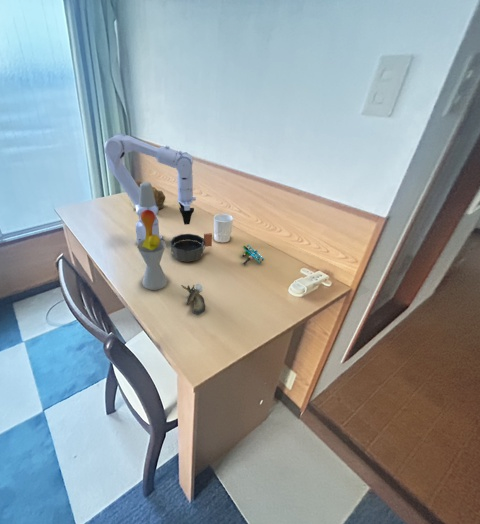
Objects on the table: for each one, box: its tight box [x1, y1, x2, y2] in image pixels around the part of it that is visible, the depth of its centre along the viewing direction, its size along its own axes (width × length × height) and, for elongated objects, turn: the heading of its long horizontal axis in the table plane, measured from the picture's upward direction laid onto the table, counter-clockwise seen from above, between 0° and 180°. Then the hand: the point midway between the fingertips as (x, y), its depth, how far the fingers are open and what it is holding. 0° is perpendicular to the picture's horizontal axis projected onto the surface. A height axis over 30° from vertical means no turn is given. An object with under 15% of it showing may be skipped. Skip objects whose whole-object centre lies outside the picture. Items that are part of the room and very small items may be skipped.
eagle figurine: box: [181, 283, 206, 316], centre depth 86 cm, size 8×7×9 cm
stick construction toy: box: [241, 244, 265, 266], centre depth 106 cm, size 12×7×8 cm
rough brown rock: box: [129, 179, 166, 210], centre depth 148 cm, size 23×17×15 cm
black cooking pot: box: [169, 232, 213, 263], centre depth 109 cm, size 16×13×8 cm
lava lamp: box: [136, 181, 168, 291], centre depth 88 cm, size 9×9×35 cm
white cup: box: [213, 213, 234, 243], centre depth 119 cm, size 8×8×10 cm
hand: (185, 220), depth 115 cm, fingers open, 7 cm apart
